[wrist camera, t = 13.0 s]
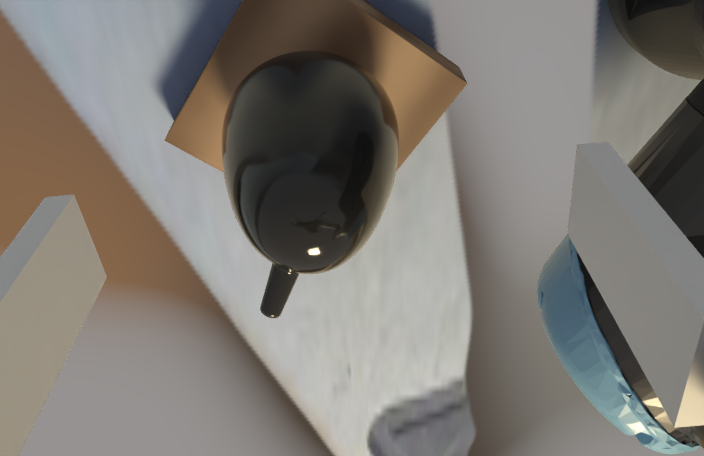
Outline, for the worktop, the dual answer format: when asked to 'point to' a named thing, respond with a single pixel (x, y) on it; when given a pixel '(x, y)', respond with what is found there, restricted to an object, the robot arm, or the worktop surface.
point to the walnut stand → (326, 36)
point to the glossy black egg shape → (308, 163)
